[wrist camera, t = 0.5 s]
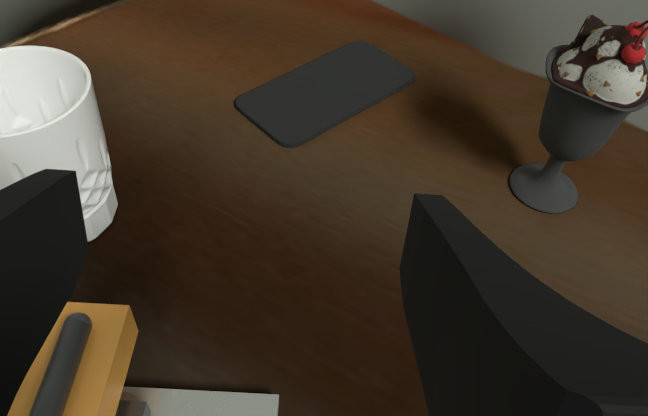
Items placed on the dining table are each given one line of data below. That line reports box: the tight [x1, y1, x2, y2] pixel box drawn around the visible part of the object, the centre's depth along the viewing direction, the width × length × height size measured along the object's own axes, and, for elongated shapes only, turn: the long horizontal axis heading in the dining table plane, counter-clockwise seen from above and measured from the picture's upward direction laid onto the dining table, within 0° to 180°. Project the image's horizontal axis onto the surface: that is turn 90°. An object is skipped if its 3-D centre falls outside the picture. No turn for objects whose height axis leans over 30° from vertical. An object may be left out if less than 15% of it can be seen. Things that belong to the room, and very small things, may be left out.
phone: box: [235, 41, 415, 148], centre depth 48 cm, size 7×1×15 cm
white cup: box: [0, 46, 118, 242], centre depth 33 cm, size 8×8×10 cm
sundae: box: [509, 15, 648, 213], centre depth 36 cm, size 7×7×15 cm
